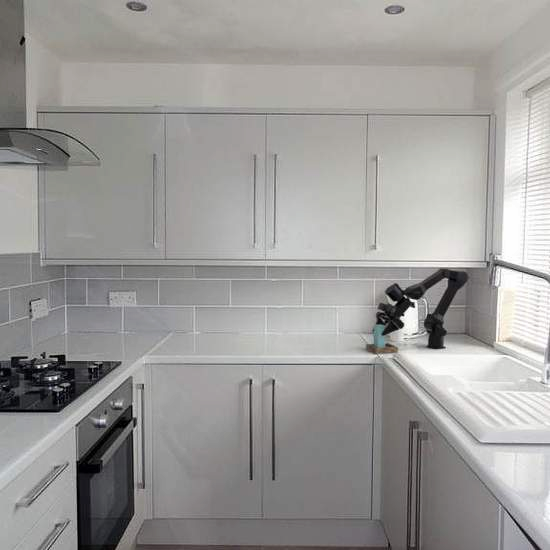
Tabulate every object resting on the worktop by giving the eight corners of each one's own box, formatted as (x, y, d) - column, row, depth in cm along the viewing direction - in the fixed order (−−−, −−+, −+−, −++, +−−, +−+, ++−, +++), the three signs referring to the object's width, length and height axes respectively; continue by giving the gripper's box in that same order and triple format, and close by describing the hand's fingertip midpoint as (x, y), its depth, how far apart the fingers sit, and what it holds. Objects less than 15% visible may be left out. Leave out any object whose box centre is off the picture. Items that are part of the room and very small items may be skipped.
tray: (387, 348, 244) (387, 343, 244) (397, 352, 234) (398, 347, 234) (366, 349, 241) (366, 344, 241) (375, 354, 231) (375, 348, 231)
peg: (380, 350, 240) (381, 324, 239) (384, 352, 236) (385, 325, 235) (373, 350, 239) (373, 324, 238) (377, 352, 235) (377, 326, 234)
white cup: (404, 339, 265) (405, 320, 265) (404, 342, 258) (404, 322, 257) (389, 338, 267) (389, 319, 267) (388, 341, 260) (388, 321, 259)
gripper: (379, 294, 246) (357, 318, 244) (398, 298, 228) (374, 324, 226) (394, 310, 248) (373, 334, 246) (414, 315, 230) (391, 341, 228)
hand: (377, 333), depth 236 cm, fingers open, 9 cm apart
